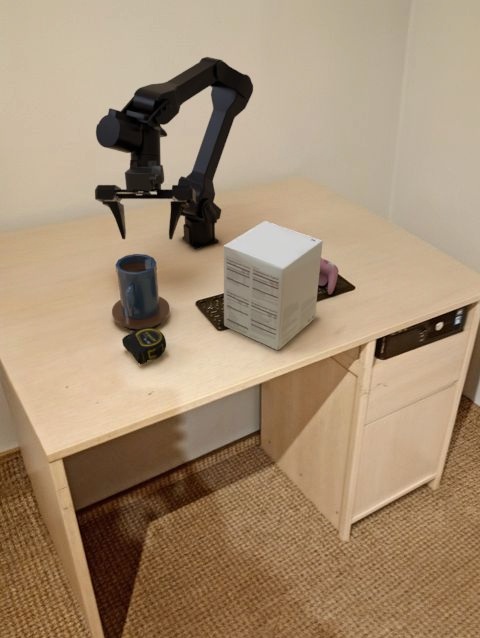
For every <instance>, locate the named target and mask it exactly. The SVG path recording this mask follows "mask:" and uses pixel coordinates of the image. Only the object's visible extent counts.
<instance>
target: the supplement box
mask: <svg viewBox="0 0 480 638" xmlns="http://www.w3.org/2000/svg"><path fill="white" fill-rule="evenodd" d="M323 242H324V241H323V240H322V239H319V238H317V237H314V236H311V235H308V234H305V233H302V232H299V231H296V230H293V229H290V228H289V227H284V226H281V225H279V224H276V223H274V222H270V221H267V220H263V221H261V222H260V223H259V224H256V225H255V226H253V227H252V228H251V229H249V230H247V231H245V232H243V233H242V234H240V235H238V236H237V237H235V238H234V239H232V240H231V241H229V242H227V243H226V244H224V245H223V326H224V327H226V328H228V329H231V330H232V331H234V332H237V333H238V334H241V335H243V336H245V337H248V338H250V339H252V340H254V341H256V342H258V343H261V344H263V345H265V346H267V347H270V348H272V349H274V350H276V351H279V350H281V348H283V347H284V346H285V345H286V344H287V343H289V342H290V341H291V340H292V339H293V338H294V337H295V336H296V335H298V334H300V332H301V331H302V330H303V329H305V328H306V327H307V326H308V325H309V324H311V322H313V321H314V320H315V318H316V312H317V301H318V291H319V290H318V289H319V285H318V282H319V275H320V274H321V273H320V263H321V258H322V251H323Z"/></svg>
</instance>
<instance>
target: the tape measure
mask: <svg viewBox="0 0 480 638" xmlns="http://www.w3.org/2000/svg"><path fill="white" fill-rule="evenodd" d="M121 343H122V345H123V348H124V349H125V350H126V351H127V352H129V353H130V354H131V356H132V357H133V358H134V359H135V360H136V362H137V364H139V365H141V366H142V365H145V364H148V362H150V361H155V360H157V359H159V358H160V357H161V356H162V355H164V353H165V352H166V348H167V340H166V336H165V335H164V334H163V332H162V331H161V330H159V329H156V328H140V329H137V330H136V331H133V332H130V333H128V334H127V335H125V336H123V338H122V341H121Z"/></svg>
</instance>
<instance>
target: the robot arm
mask: <svg viewBox="0 0 480 638" xmlns="http://www.w3.org/2000/svg"><path fill="white" fill-rule="evenodd" d="M209 87H211V92H210V99H211V103H212V112H211V114H210V118H209V121H208V123H207V126H206V129H205V132H204V135H203V138H202V141H201V144H200V147H199V149H198V153H197V156H196V158H195V161H194V164H193V167H192V169H191V172H190V173H189V174H188V175H187V176H180V178H179V179H178V183H177V184H172V186H171V189H165V188H164V189H162V185H163V183H165V171H164V165H163V164H161V163H162V160H161V159H162V157H161V138H166V137H168V132H167V131H166V129H164V128H163V127H162V126H164V125H168V124H169V123H170V122H171V121H172V120H173V119H174V118H175V117H176V116H177V115H178V114H179V113H180V109H181V106H182V105H183V104H184V103H186V102H187V101H188V100H191V99H192V98H193V97H195V96H196V95H198V94H200V93H202V92H203V91H204V90H206V89H207V88H209ZM253 93H254V84H253V82H252V79H251V77H250V76H249V75H248V74H246V73H242V72H241V71H239V70H236V69H235V68H233V67H232V66H230V65H229V64H228V63H227V62H225V61H224V60H223V59H219V58H214V57H211V56H205V57H202V58H201V59H200V60H199V62H197V63H196V64H194V65H192V66H191V67H189V68H187V69H186V70H184V71H182V72H180V73H179V74H177V75H176V76H174V77H172V78H171V79H168V80H167V81H164V82H161V83H151V84H147V85H144V86H141V87H139V88H137V89H136V90H135V92H134V93H133V96H132V98H131V99H130V100H129V101H128V102H127V103H126V104H125V105H124V107H122V109H121V110H118V109H114V108H110V107H109V109H108V113H107V114H106V115H104V116H102V118H101V119H100V120H99V122H98V123H97V124H96V128H95V129H96V130H95V137H96V141H97V143H98V144H99V145H100V146H101V147H103V148H106V149H109V150H113V151H117V152H121V153H125V154H130V160H129V168H128V169H126V171H124V179H125V187H126V188H125V189H124V188H123V189H122V188H121V187H119V186H118V185H116V184H97V185H96V187H95V189H94V199H95V201H97V202H100V203H101V204H102V205H104V206H105V207H107V208H109V209H110V211H111V213H112V215H113V218H114V220H115V222H116V225H117V228H118V231H119V233H120V236H121V239H122V240H126V238H127V237H126V235H127V230H126V229H127V228H126V217H125V205H124V204H123V203H121V201H122V200H171V201H170V213H169V215H170V216H169V224H168V225H169V226H168V239H169V240H173V237H174V235H175V233H176V232H175V231H176V229H177V225H178V223H179V221H180V218H181V217H184V224H183V225H182V226H183V227H182V228H183V236H182V237H181V238H182V241H184V242H185V243H187V244H188V245H189V246H191V248H193V249H194V250H199V249H202V248H206V247H209V246H212V245H215V244H219V239H218V238H216V226H215V225H216V223H217V222H218V221H219V219H221V214H222V209H221V208H220V207H219V206H218V205H217V204H216V203H215V202H214V201H215V197H216V191H215V186H214V178H215V176H216V172H217V169H218V167H219V164H220V161H221V158H222V155H223V152H224V149H225V147H226V144H227V140H228V137H229V136H230V132H231V129H232V126H233V123H234V121H235V118H236V117H238V115H240V114H241V113H242V112H243V111H244V110H245V109H246V108H247V105H248V104H249V101H250V99H251V97H252V95H253Z"/></svg>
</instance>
